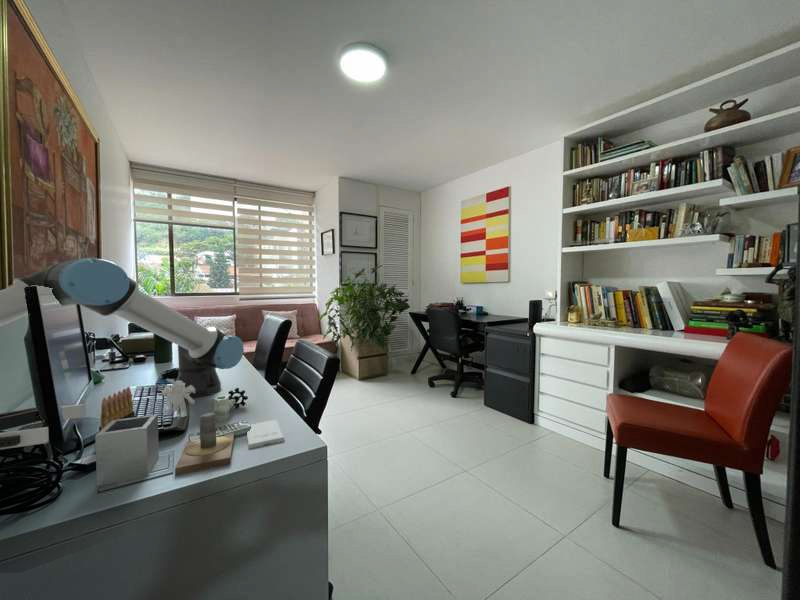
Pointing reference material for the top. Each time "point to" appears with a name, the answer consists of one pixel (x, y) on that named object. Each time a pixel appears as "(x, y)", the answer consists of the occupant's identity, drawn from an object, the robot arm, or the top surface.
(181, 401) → the hat wearing toy figure
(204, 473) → the top surface
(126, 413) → the ammunition clip
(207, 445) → the shaft stand
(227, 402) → the valve
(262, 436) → the external hard drive
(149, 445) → the square pen holder
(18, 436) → the robot arm
